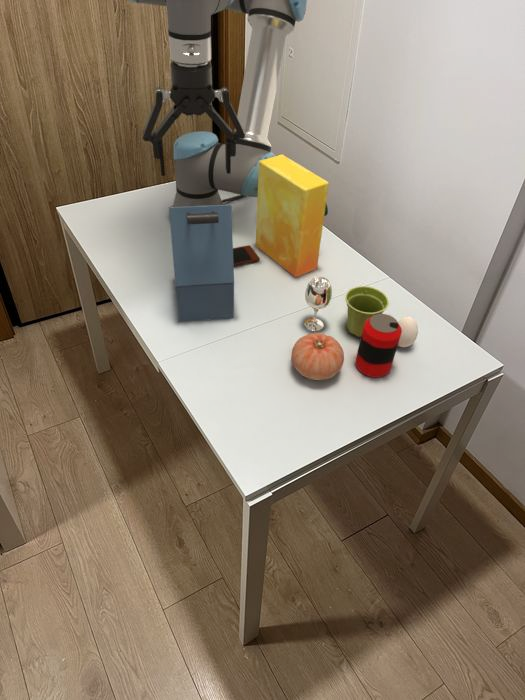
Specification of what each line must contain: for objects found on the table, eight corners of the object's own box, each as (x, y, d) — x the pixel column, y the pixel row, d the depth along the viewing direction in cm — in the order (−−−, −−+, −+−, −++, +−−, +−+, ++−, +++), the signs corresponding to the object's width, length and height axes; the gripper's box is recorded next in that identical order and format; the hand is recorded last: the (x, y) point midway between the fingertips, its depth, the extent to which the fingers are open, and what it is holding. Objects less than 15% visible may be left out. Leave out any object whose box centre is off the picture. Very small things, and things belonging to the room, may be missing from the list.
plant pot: (386, 341, 119) (394, 311, 113) (346, 344, 118) (352, 314, 112) (373, 314, 126) (380, 284, 120) (335, 317, 124) (340, 287, 118)
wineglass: (322, 336, 120) (329, 293, 111) (298, 329, 121) (303, 287, 112) (329, 320, 124) (336, 278, 115) (305, 314, 125) (311, 272, 116)
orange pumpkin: (328, 396, 107) (334, 368, 101) (280, 376, 110) (283, 348, 105) (348, 363, 114) (354, 335, 108) (303, 345, 117) (306, 317, 112)
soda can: (388, 381, 110) (401, 339, 102) (352, 373, 112) (362, 331, 103) (392, 357, 116) (404, 315, 107) (357, 349, 117) (367, 307, 109)
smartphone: (196, 255, 138) (249, 244, 143) (196, 258, 139) (249, 247, 144) (205, 270, 134) (260, 258, 138) (205, 273, 134) (260, 261, 139)
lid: (168, 207, 107) (169, 213, 101) (230, 204, 109) (235, 210, 103) (175, 285, 114) (176, 295, 107) (233, 281, 116) (238, 291, 109)
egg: (388, 350, 117) (396, 324, 112) (389, 334, 121) (397, 308, 116) (413, 355, 116) (421, 328, 111) (413, 339, 120) (422, 313, 115)
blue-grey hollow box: (175, 280, 132) (172, 247, 125) (225, 277, 134) (225, 244, 127) (178, 322, 121) (175, 287, 114) (233, 317, 123) (234, 283, 116)
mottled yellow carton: (331, 262, 140) (345, 176, 124) (295, 278, 135) (305, 190, 118) (290, 232, 150) (298, 149, 134) (254, 245, 145) (258, 160, 128)
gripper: (120, 68, 93) (135, 182, 107) (261, 67, 96) (257, 177, 111) (121, 55, 98) (135, 165, 113) (255, 55, 102) (251, 162, 116)
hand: (195, 171), depth 112 cm, fingers open, 13 cm apart
